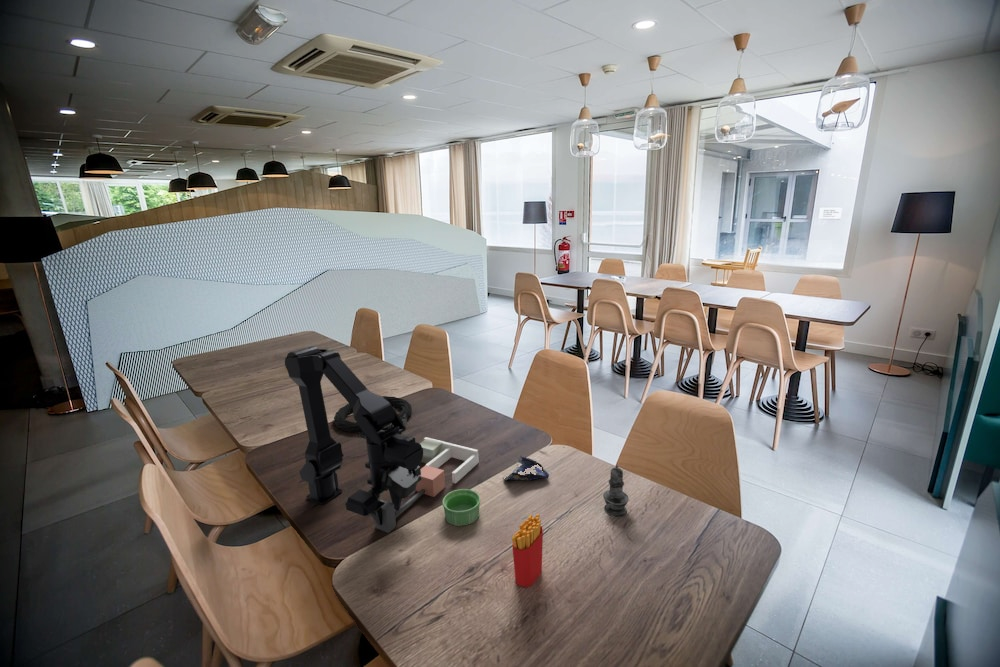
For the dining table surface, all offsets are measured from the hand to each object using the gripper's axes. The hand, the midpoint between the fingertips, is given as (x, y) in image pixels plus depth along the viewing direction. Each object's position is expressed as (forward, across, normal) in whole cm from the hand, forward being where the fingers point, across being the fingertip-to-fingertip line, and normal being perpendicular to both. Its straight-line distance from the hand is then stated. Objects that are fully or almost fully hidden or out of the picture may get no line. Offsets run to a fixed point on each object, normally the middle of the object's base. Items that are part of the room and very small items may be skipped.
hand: (388, 517), depth 105 cm
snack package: (+3, +32, -21) cm, 38 cm away
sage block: (+2, +28, +9) cm, 30 cm away
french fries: (+2, 0, -36) cm, 36 cm away
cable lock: (+2, +43, +45) cm, 62 cm away
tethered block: (+2, +8, 0) cm, 8 cm away
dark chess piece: (+2, +28, -46) cm, 54 cm away
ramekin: (+2, +10, -14) cm, 17 cm away
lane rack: (+2, +26, +4) cm, 27 cm away
